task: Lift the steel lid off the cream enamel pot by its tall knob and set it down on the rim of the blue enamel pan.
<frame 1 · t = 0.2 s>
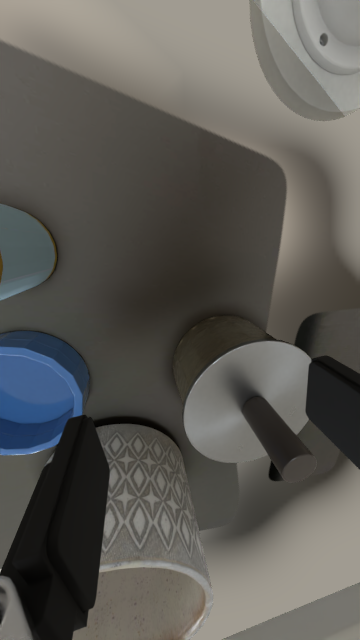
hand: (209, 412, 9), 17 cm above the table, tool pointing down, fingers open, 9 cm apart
bottle: (19, 249, 21), on the table
lid: (252, 404, 21), point 8 cm above the table, touching pot
pot: (219, 360, 29), on the table
pan: (31, 381, 25), on the table
planter: (117, 466, 31), on the table
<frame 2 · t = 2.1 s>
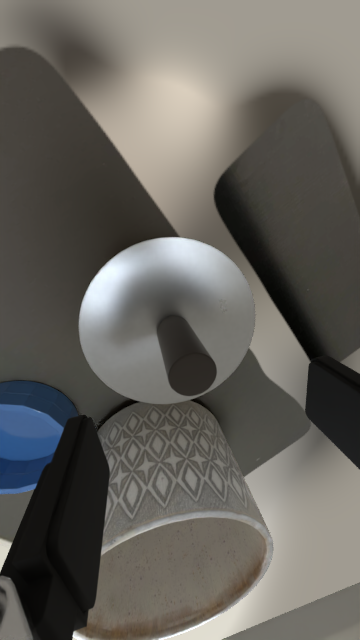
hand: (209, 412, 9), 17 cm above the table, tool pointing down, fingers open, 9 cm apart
lid: (172, 329, 17), point 8 cm above the table, touching pot
pan: (24, 423, 27), on the table
planter: (157, 442, 32), on the table
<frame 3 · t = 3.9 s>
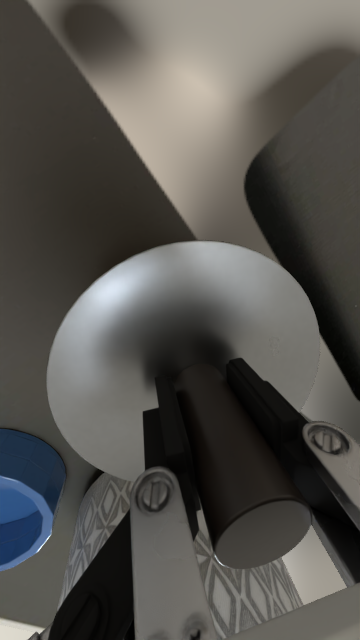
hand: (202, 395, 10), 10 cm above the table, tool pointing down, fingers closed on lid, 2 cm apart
lid: (195, 380, 11), point 9 cm above the table, touching gripper, pot
planter: (164, 492, 26), on the table
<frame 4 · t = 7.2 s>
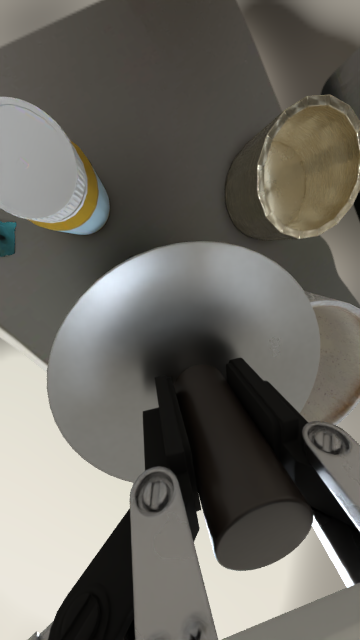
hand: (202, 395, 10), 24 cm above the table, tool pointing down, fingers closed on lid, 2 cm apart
bottle: (81, 204, 27), on the table
lid: (196, 381, 11), point 23 cm above the table, touching gripper
pot: (267, 191, 31), on the table
planter: (244, 332, 38), on the table
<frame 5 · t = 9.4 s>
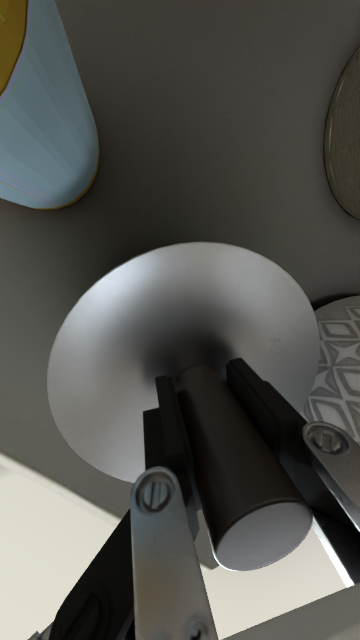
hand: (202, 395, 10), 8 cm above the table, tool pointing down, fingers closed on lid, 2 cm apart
bottle: (38, 145, 13), on the table
lid: (195, 381, 11), point 7 cm above the table, touching gripper
planter: (323, 377, 23), on the table
when the fingers open (5 cm above the table, at t = 10.6 s): lid stays where it is, resting on pan.
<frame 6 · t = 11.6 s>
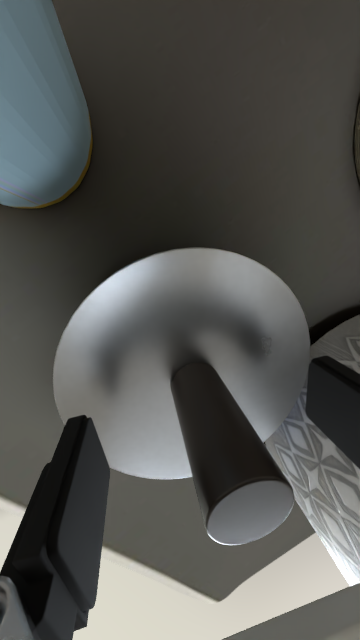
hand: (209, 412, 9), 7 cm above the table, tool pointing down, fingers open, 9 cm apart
bottle: (19, 131, 11), on the table
lid: (192, 378, 12), point 4 cm above the table, touching pan
planter: (344, 395, 21), on the table
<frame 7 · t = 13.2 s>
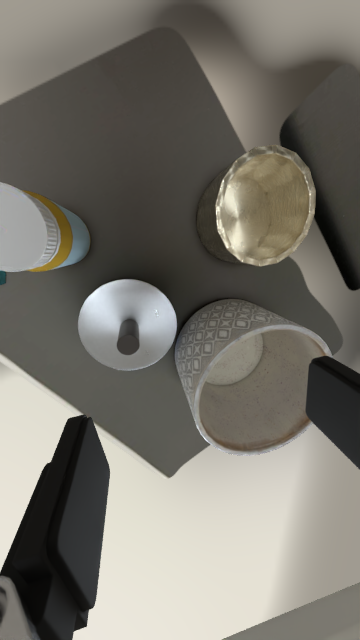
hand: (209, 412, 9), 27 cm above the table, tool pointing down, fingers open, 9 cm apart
bottle: (65, 238, 30), on the table
lid: (129, 326, 31), point 4 cm above the table, touching pan
pot: (236, 219, 33), on the table
planter: (222, 346, 40), on the table
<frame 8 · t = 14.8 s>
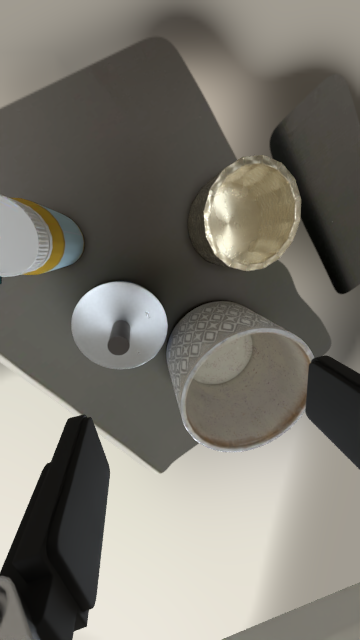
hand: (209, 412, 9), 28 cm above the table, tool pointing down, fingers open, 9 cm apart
bottle: (59, 240, 31), on the table
lid: (121, 327, 32), point 4 cm above the table, touching pan
pot: (226, 223, 34), on the table
planter: (213, 346, 41), on the table
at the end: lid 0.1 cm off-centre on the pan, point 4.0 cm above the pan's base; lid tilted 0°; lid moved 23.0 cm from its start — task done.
